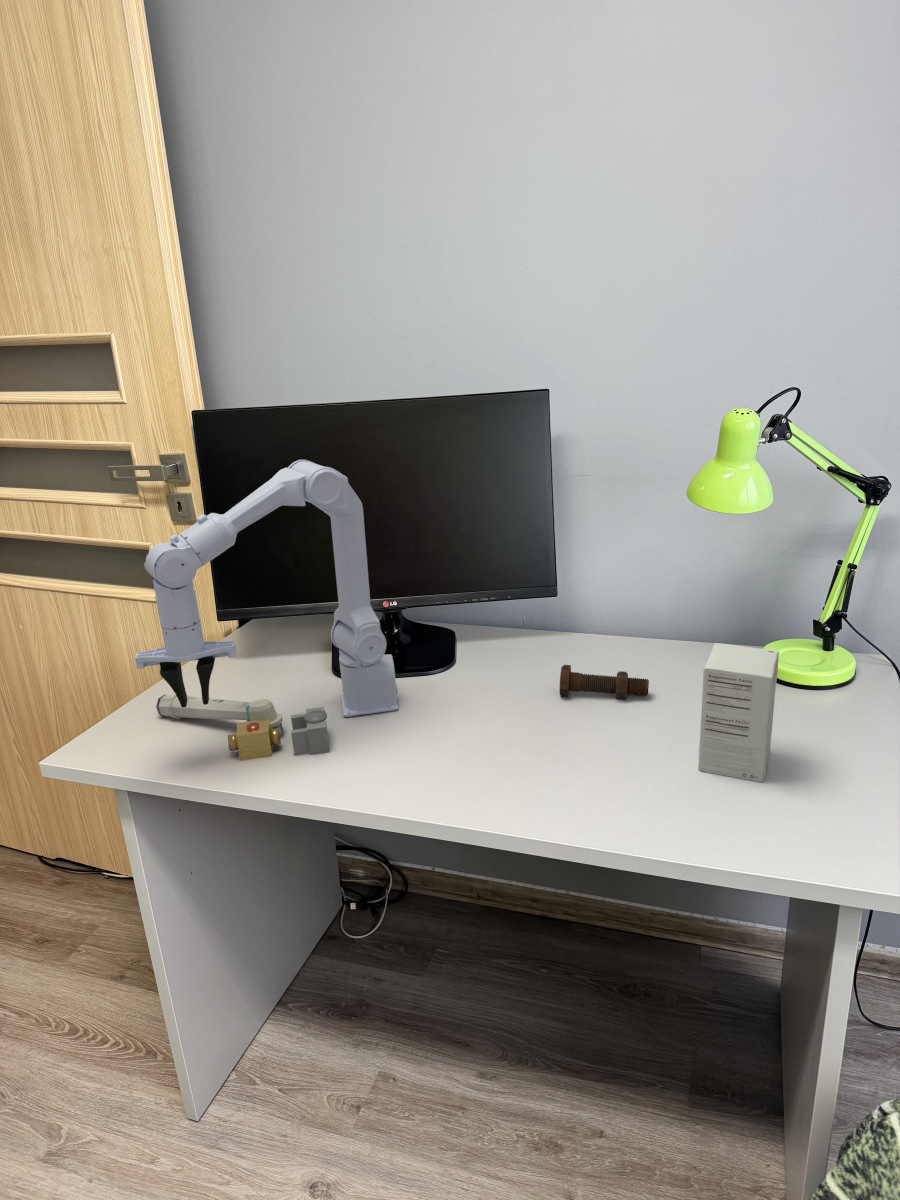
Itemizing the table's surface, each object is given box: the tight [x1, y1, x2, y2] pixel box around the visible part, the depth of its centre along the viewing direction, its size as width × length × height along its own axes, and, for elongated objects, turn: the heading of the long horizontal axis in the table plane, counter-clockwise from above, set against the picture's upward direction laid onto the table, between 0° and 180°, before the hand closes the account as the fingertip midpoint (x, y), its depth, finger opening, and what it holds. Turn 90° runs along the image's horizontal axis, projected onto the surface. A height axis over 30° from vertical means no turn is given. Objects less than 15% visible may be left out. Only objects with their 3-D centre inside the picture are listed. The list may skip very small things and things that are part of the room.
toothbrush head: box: [155, 693, 284, 736], centre depth 142 cm, size 5×7×25 cm
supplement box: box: [697, 642, 780, 783], centre depth 120 cm, size 10×9×17 cm
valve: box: [227, 719, 282, 762], centre depth 133 cm, size 8×4×5 cm, turn 100°
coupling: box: [290, 706, 330, 756], centre depth 134 cm, size 6×7×5 cm
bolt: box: [559, 664, 650, 701], centre depth 144 cm, size 6×5×15 cm
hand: (195, 703), depth 129 cm, fingers open, 3 cm apart
